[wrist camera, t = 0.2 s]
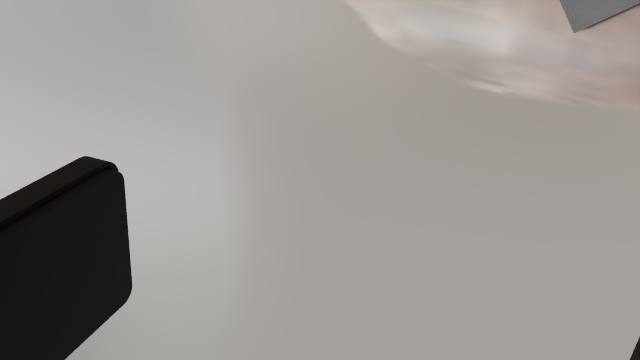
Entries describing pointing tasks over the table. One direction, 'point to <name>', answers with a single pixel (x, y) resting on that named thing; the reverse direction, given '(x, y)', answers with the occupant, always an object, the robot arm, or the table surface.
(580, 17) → the collar
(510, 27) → the table surface
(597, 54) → the table surface
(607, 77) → the table surface
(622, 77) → the table surface
